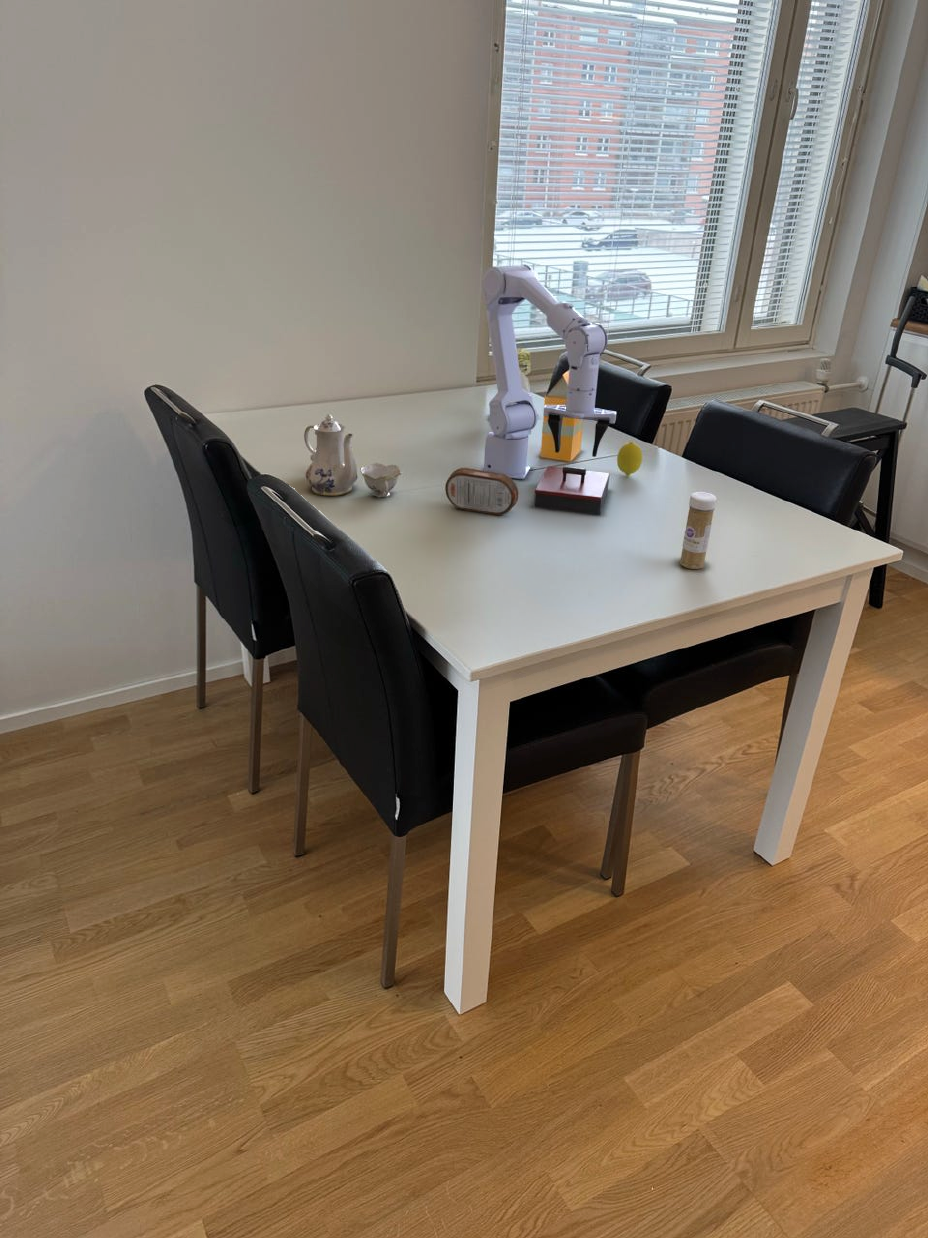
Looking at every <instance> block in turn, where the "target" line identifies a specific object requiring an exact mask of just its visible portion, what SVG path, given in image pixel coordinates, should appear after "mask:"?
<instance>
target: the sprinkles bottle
mask: <svg viewBox="0 0 928 1238" xmlns="http://www.w3.org/2000/svg"><path fill="white" fill-rule="evenodd" d="M717 500H718V499H717V497H716V495H714V494H713V493H709V492H705V491H696V492H693V493H691V494H690V496H689V501H688V502H689V503H688V505H689V507H688V508H689V509H688V514H687V520H686V526H685V531H684V534H683V535H684V536H683V540H682V549H681V554H680V555H681V556H680V559H679V564H680V565H681V566H682V567H684V568H685V569H691V570H699V569H702V568H704V567H705V566H706V563H705V562H706V556H707V550H708V548H709V547H708V546H709V541H710V535H711V529H712V521H713V516H714V511H715V509H716V507H717V506H716V505H717Z"/></svg>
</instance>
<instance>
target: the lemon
mask: <svg viewBox="0 0 928 1238" xmlns="http://www.w3.org/2000/svg"><path fill="white" fill-rule="evenodd" d="M642 462H643V452H642V449H641V447H640V446H639V445H638V444H636V443H635V442H634V441H629V442H627V443H624V444H623V445H622V446H621V447H620V448H619V450H618V453H617V457H616V464H617V467H618V470H620V472H622V473H624V475H625V476H627V477H629V476H631V474H634V473H636V472H638V470H639V469H640V468H641V465H642Z"/></svg>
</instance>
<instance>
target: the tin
mask: <svg viewBox="0 0 928 1238" xmlns="http://www.w3.org/2000/svg"><path fill="white" fill-rule="evenodd" d="M444 487H445V489H444V490H445V495H446V498H447V499H448V501H449V502H450V504H451V505H453V506H454V507H456V508H458V509H460V510H465V511H471V512H476V513H481V514H487V515H488V514H489V515H493V516H502V515H505V514H506V513H509V512H510V511H511V510H512V508H514V507H515V505H516V504H517V502H518V499H519V488H518V487H517V484H516V482H515V481H514V480H513V478H510V477H508V476H506V475H504V474H501V473H495V472H489V471H484V470H482V469H476V468H470V467H461V468H457V469H455V470H454V471H453V472H452V473H451V474H450V476H449V477H448V478H447V480H446V482H445V486H444Z"/></svg>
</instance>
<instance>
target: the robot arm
mask: <svg viewBox="0 0 928 1238" xmlns="http://www.w3.org/2000/svg"><path fill="white" fill-rule="evenodd" d="M481 286H482V287H481V288H482V293H483V300H484V308H485V314H486V321H487V326H488V334H489V341H490V348H491V354H492V355H491V356H492V362H493V367H494V368H493V369H494V375H495V382H496V388H497V393H496V394H495V395H494V396H493V398H492V399H491V400H490V401H489V403H488V405H489V415H488V423H489V427H490V430H491V431H488V432H487V434H486V437H485V442H484V456H483V471H489V472H495V473H501V474H504V475H506V476H508V477H510V478H511V479H516V480H517V479H518V480H524V479H525V478H526V476H527V475H528V473H529V472H530V470H531V466H528V465H527V462H528V461H527V460H528V448H529V447H528V446H529V436H530V435H531V434H532V430H534V428H535V427H536V425H537V422H538V416H537V414H538V412H537V409H536V406H535V405H534V402H533V396H532V395H531V393H530V394H529V393H527V392H526V391H525V390H524V389H523V388H522V383H521V376H520V369H519V362H518V355H517V349H518V348H517V342H516V333H515V327H514V319H513V313H514V312H515V310H516V309H517V307H519V306H520V305H521V304H522V303H523V302H524V301H525V300H526V301H527V302H528V303H530V304H531V305H532V306H534V307H535V308H536V309H537V310H538V311H540V312H541V313H543V315H545V316H546V325H547V326H548V327H549V328H550V329H551V330H552V332H554V333H555V334H556V335H557V336H558V337H559V338H560V339H562V341H564V345H565V350H566V352H567V362H568V366H569V367H568V368H569V369H568V370H569V380H568V391H567V402H566V405H545V406H544V405H543V406H544V407H543V414H542V415H543V417H544V416H546V417H548V416H549V418H548V425H549V427H550V429H551V432H552V435H553V439H554V444H555V452H556V453H559V451H560V446H561V428H562V420H563V417H565V418H575V419H584V421H585V420H586V421H595V422H596V423H595V426H594V442H593V447H592V452H591V453H592V455H591V456H592V457H594V458H596V457H597V454H598V450H599V446H600V443H601V441H602V439H603V437H604V435H605V433H606V431H607V430H608V429H609V426H610V424H615V423H616V419H617V411H614V410H607V409H602V408H598V407H595V406H596V396H597V388H598V378H599V377H598V376H599V368H600V357H601V354H602V353H604V352H605V351H606V349H607V347H608V343H609V341H608V339H609V338H608V333H607V331H606V329H605V327H604V326H603V325H602V324H601V323H599V322H598V323H597V322H595V323H592V322H591V321H590V322H589V319H588V318H586V316H583V315H582V314H581V313H579V311H577V310H576V309H575V308H574V307H575V305H574V304H573V303H572V302H570V301H569V302H567V301H560V302H559V301H558V300H557V299H556V298H555V296H554V295H553V294H552V293H551V292H550V291H549V290H548V288H547V287H545V286H544V284H543V283H542V282H541V281H540V280H539V275H538V272H537V271H536V270H534V269H533V268H532V267H531V265H529V264H519V265H510V266H509V265H508V266H507V265H506V266H490V267H489V268H488V269H487V270H486V272H485V274H484V276H483V278H482V280H481ZM512 402H515V403H516V404H514V405H508V406H506V405H507V404H508V403H512Z"/></svg>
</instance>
